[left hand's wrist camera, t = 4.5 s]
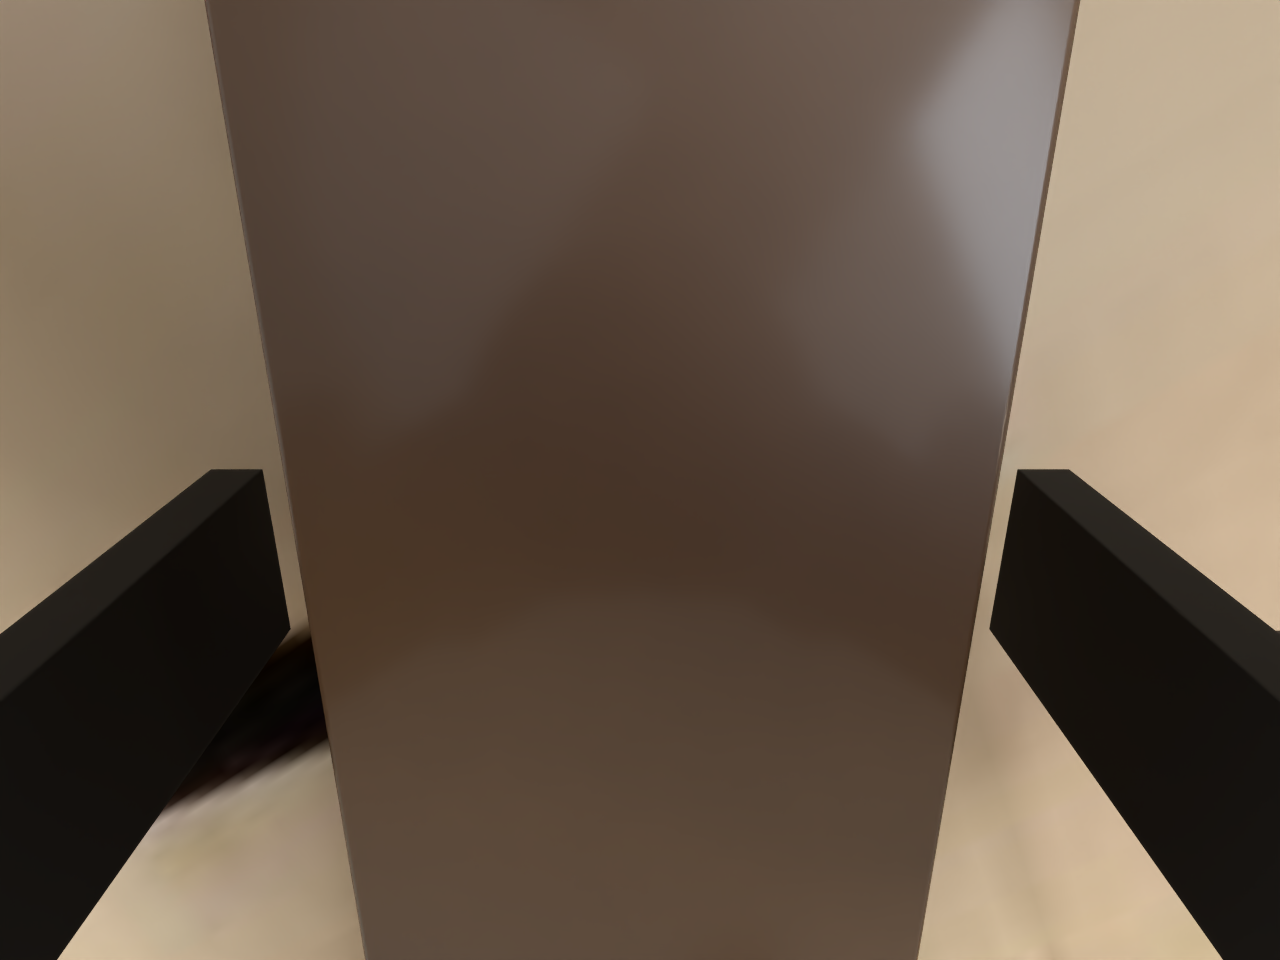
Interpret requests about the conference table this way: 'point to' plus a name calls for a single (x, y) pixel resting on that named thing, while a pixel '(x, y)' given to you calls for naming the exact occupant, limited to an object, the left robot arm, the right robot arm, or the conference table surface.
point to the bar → (641, 443)
